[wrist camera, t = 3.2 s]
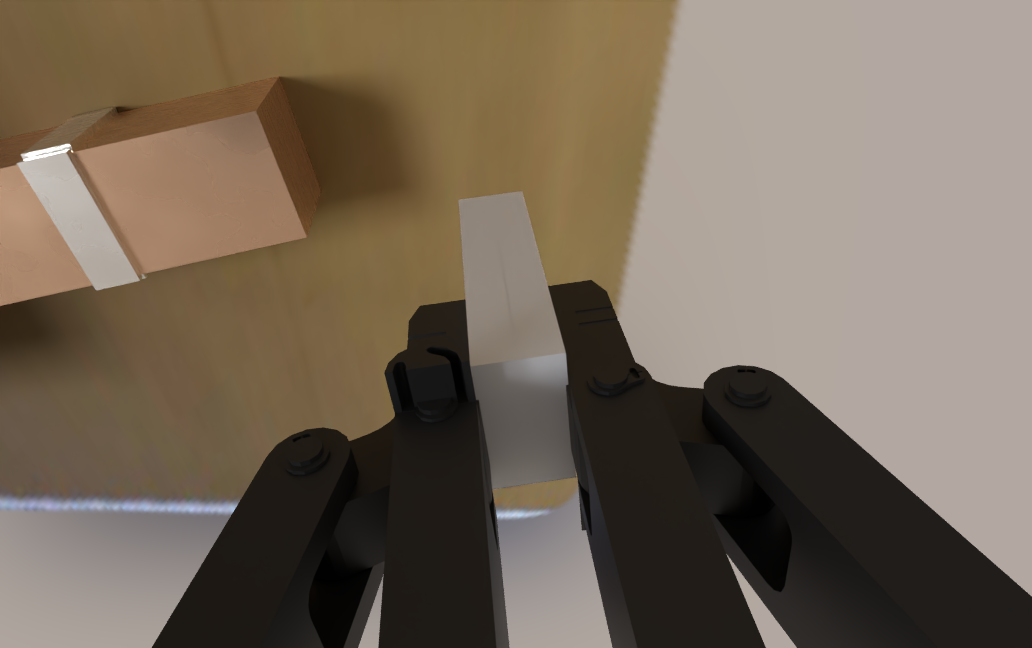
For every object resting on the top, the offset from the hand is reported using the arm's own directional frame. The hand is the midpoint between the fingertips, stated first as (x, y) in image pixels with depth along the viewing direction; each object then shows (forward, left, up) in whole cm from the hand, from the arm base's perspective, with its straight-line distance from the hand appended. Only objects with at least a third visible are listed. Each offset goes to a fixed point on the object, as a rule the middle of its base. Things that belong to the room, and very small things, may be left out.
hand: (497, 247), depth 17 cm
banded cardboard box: (-12, 0, -9) cm, 15 cm away
